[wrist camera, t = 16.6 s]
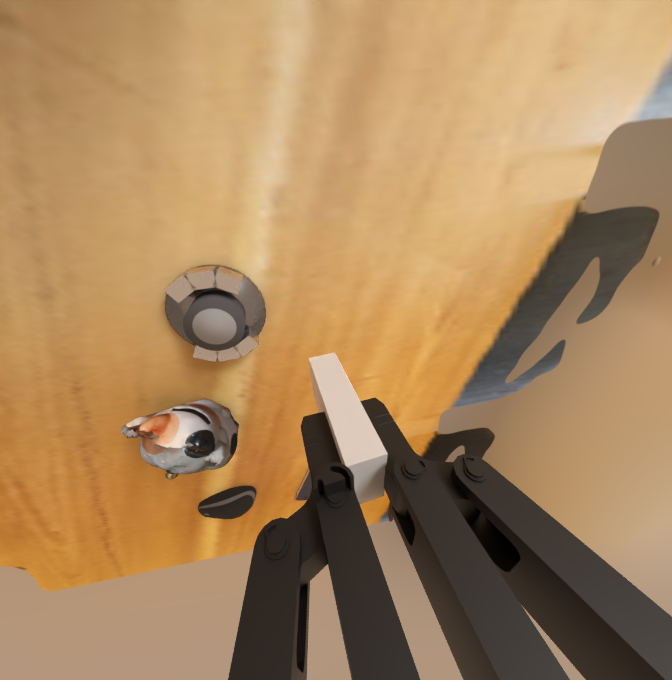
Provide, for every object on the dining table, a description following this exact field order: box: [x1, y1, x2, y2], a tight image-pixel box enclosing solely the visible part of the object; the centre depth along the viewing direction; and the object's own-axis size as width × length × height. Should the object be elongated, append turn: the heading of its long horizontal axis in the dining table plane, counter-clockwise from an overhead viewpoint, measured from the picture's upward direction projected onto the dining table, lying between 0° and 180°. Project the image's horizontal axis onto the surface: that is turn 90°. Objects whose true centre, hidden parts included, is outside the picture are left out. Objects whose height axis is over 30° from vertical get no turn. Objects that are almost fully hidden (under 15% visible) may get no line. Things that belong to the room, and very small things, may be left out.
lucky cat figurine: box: [120, 399, 239, 479], centre depth 37 cm, size 15×12×14 cm
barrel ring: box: [163, 265, 266, 362], centre depth 33 cm, size 13×13×4 cm
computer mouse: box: [198, 486, 256, 519], centre depth 54 cm, size 7×12×4 cm, turn 97°
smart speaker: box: [183, 290, 246, 351], centre depth 32 cm, size 7×7×4 cm
